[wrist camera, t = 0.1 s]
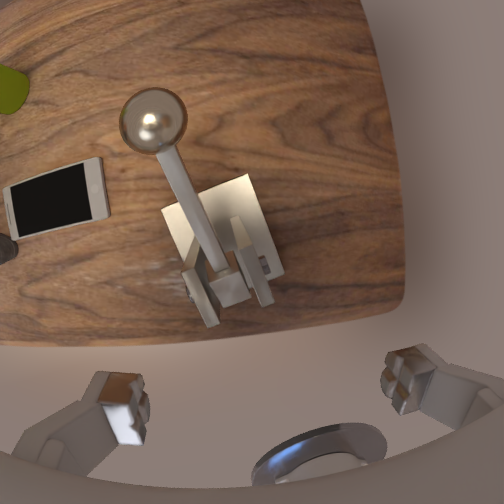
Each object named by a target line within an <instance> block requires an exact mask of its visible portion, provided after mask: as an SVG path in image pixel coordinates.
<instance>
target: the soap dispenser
mask: <svg viewBox="0 0 504 504" xmlns="http://www.w3.org/2000/svg"><path fill="white" fill-rule="evenodd" d="M28 91H29V80H28V77H27V76H26V75H25V74H23V73H20V72H18V71H16V70H14V69H11V68H9V67H7V66H4V65H2V64H0V113H2V114H12V113H14V112H16V111H17V110H18V109H19V108H20V107H21V106H22V105H23V103H24V101H25V100H26V97H27V95H28Z"/></svg>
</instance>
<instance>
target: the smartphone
mask: <svg viewBox="0 0 504 504" xmlns="http://www.w3.org/2000/svg"><path fill="white" fill-rule="evenodd" d="M3 197H4V203H5V209H6V215H7V220H8V226H9V230H10V235H11V239H12V240H13V241H15V240H19V239H23V238H27V237H30V236H34V235H38V234H42V233H46V232H50V231H54V230H59V229H63V228H67V227H71V226H76V225H80V224H84V223H89V222H94V221H98V220H103V219H106V218H108V217H109V216H110V210H109V205H108V199H107V193H106V187H105V180H104V174H103V167H102V159H101V158H100V157H93V158H90V159H86V160H83V161H79V162H76V163H73V164H69V165H66V166H63V167H60V168H57V169H54V170H51V171H48V172H45V173H42V174H39V175H36V176H33V177H30V178H28V179H25V180H22V181H20V182H17V183H14V184H12V185H9V186H7V187H5V188H3Z"/></svg>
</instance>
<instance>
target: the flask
mask: <svg viewBox="0 0 504 504" xmlns="http://www.w3.org/2000/svg"><path fill="white" fill-rule="evenodd" d="M17 254H18V246H17V243H16V241H13V240H12V239H11V237H9V236H6V235H4V234H2V233H0V265H1V264H3V263H5V262H7V261H9V260H11V259H13V258H15V257H16V256H17Z"/></svg>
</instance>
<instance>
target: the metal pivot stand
mask: <svg viewBox="0 0 504 504" xmlns="http://www.w3.org/2000/svg"><path fill="white" fill-rule="evenodd" d="M198 195H199V198H200V200H201V202H202V204H203V207H204V209H205V211H206V213H207V215H208V218H209V220H210V222H211V224H212V226H213V228H214V231H215V233H216V235H217V237H218V239H219V241H220V244H221V246H222V248H223V250H224V252H225V253H226V252H229V251H231V250H233V251H234V253H235V256H236V258H237V260H238V262H239V265H240V267H241V269H242V271H243V274H244V276H245V279H246V282H247V285H248V288H251V287H253V288H254V290H255V293H256V295H257V297H258V300H259V302H260V305H261V307H262V308H263V307H265V306H268V305H271V304H273V303H275V300H274V297H273V295H272V292H271V289H270V287H269V284H268V282H267V281H269V280H272V279H274V278H277V277H279V276H282V275H284V274H285V272H284V269H283V266H282V264H281V261H280V258H279V255H278V253H277V250H276V247H275V245H274V242H273V239H272V236H271V234H270V231H269V228H268V226H267V223H266V220H265V218H264V215H263V212H262V210H261V207H260V204H259V202H258V199H257V196H256V194H255V191H254V189H253V186H252V183H251V181H250V178H249V175H248V174H244V175H242V176H239V177H236V178H234V179H231V180H229V181H226V182H224V183H221V184H219V185H216V186H214V187H211V188H209V189H206V190H204V191H201V192H199V193H198ZM161 212H162V214H163V216H164V219H165V221H166V223H167V226H168V228H169V230H170V233H171V235H172V237H173V240H174V242H175V244H176V246H177V249H178V251H179V253H180V255H181V258H182V260H183V262H184V265H183V268H182V271H181V275H182V277H183V279H184V281H185V283H186V292H187V295H188V297H189V299H190V301H191V302H192V303H195V304H196V306H197V308H198V310H199V312H200V314H201V316H202V318H203V320H204V322H205V324H206V326H207V328H210V327H213V326H216V325H218V324H220V323H221V322H220V302H219V300H218V298H217V296H216V295H215V293H214V291H213V290H212V288H211V286H210V284H209V281H208V276H207V271H206V266H205V261H206V260H208V259H207V257H206V255H205V253H204V251H203V250H202V248H201V246H200V244H199V242H198V240H197V238H196V236H195V234H194V232H193V230H192V228H191V226H190V224H189V222H188V220H187V218H186V216H185V214H184V212H183V210H182V208H181V206H180V204H179V202H178V201H177V202H175V203H173V204H170V205H168V206H166V207H164V208H162V209H161Z"/></svg>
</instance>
